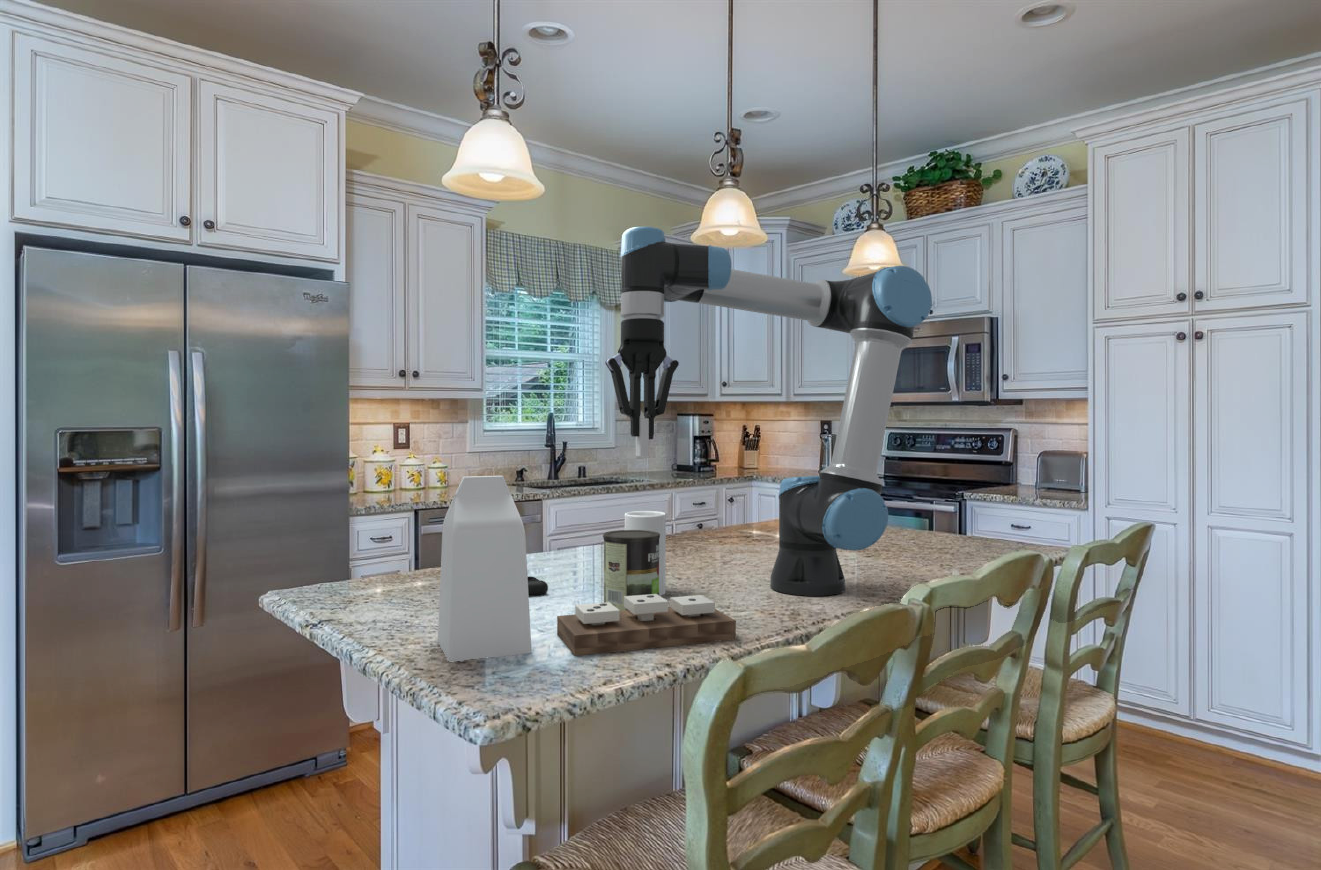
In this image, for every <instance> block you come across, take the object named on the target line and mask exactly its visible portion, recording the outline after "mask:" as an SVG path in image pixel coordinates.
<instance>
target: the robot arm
mask: <svg viewBox="0 0 1321 870" xmlns="http://www.w3.org/2000/svg"><path fill="white" fill-rule="evenodd" d="M619 259H620V281H621V282H620V287H621V288H620V317H621V318H623V320H622V321H620V346H619V348H618V349H617V350H618V351H617V354H615V355H614V356H613V357H611V358H609V359H608V358H607V359H606V360H605V365H606V367H607V369H608V371H609V372H610V375H611V379H612V384H613V387H614V391H615V395H616V400H617V404H618V409H619V412H620V414H622V415H624V416H627V417H629V419H630V436H631V437H633V438H634V437H635V456H637V457H649V453H650V450H649V449H650V448H649V447H650V444H649V443H650V442H649V440H650V439H649V438H650V437H653V436H654V434H655V425H654V424H655V418H656V417H658V416H659V415H663V414H664V413H665V411H666V407H667V403H668V397H669V392H670V389H671V385H672V380H673V376H674V373H675V371H676V370H677V368H678V366H680V365H679V363H680V362H679V361H678V360H677V359H672V358H671V357H670V356H668V355H667V350H666V348H665V322H664V321H663V320H662V319H663V318H664V317H665V303H674V302H677V301H680V302H686V303H687V302H688V303H696V304H701V305H702V304H703V305H709V306H715V307H720V308H727V309H734V310H738V311H745V312H752V313H758V314H766V315H771V316H777V317H783V318H791V319H795V320H800V321H807V323H808V325H810V326H811V327H814V328H820V329H826V330H829V331H830V330H831V331H835V332H836V331H837V332H842V333H846V334H849V335H850V336H851V339H852V340H853V341H854V342H855V346H854V351H853V356H852V360H851V365H850V371H849V375H848V379H847V384H846V385H847V386H846V390H845V395H844V399H843V405H842V410H841V414H840V418H839V424H838V427H837V428H838V429H837V433H836V438H835V442H834V448H833V453H832V457H831V463H830V464H829V465H828V466H826V467H824V469H821V471H820V475H809V476H808V475H807V476H794V477H793V476H792V477H787V478H784V479H782V480H781V481H780V483H779V492H778V513H779V514H778V515H779V516H778V518H779V520H778V523H779V525H778V529H779V530H778V533H779V534H778V539H779V540H778V544H779V545H778V553H777V556H776V559H775V561H774V564H773V568H772V571H771V574H770V585H769V586H770V588H771V589H772V590H774V591H776V592H780V593H782V594H783V593H784V594H787V595H788V594H790V595H796V596H810V597H812V596H813V597H819V596H821V597H824V596H832V595H838V594H842V593H843V592H845V591H846V578H845V575H844V573H843V568H842V565H841V562H840V558H839V556H838V551H837V549H838V550H843V551H854V552H855V551H861V550H862V551H863V550H866V549H867V548H868V549H869V548H870V547H871V546H872V545H874V544H875V543H877V542H878V541H879V540H880V539H881V537H882V536H883V535H884V533H885V530H886V529H887V526H888V521H889V511H888V506H887V505H886V503H885V500H884V498H883V497H882V495H881V494H882V489H883V485H884V484H883V482H882V480H881V479H880V478H879V476H878V473H877V472H878V467H879V463H880V458H881V453H882V448H883V443H884V440H885V439H884V438H885V433H886V429H887V428H886V427H887V423H888V419H889V413H890V408H891V404H892V399H893V394H894V390H895V389H894V388H895V384H896V380H897V373H898V369H899V364H900V361H901V356H902V355H901V354H902V351H903V350H905V349H906V348H908V347H909V346H910V345H911V344H912V343H913V338H914V333H915V329H916V328H915V327H917V326H918V325H920V324H922V323H923V321H925V320H926V319H927V318H928V316H929V315H930V312H931V309H932V305H933V298H932V291H931V288H930V286H929V284H928V283H927V282H926V280H925V277H924V276H923V275H922V274H921V273H920V272H919V271H918V270H917V269H915V268H912V267H909V266H908V265H907V266H906V265H895V266H886V267H885V266H884V267H883V268H880V269H879V270H876V271H874V272H871V273H867V274H863V275H862V276H858V277H854V278H851V279H845V280H835V281H834V280H833V281H831V280H825V279H818V280H817V281H816V282H815V283H813V282H808V281H802V280H795V279H792V278H791V279H790V278H785V277H779V276H774V275H773V276H772V275H767V274H761V273H755V272H751V271H750V272H749V271H745V270H740V269H739V270H738V269H733V268H732V256H731V255H730V252H729V251H728V249H726V248H724V247H719V246H713V245H711V244H709V245H699V244H685V243H684V244H683V243H682V244H681V243H671V242H669V241H666V238H665V232H664V231H663V229H660V228H657V227H653V226H635V227H630V228H628V229H626V230H624V232H623V233H622V235H621V244H620V256H619ZM622 363H623V364H624V366H625V368H626V369H627V370H628V378H629V396H628V392H627V388H626V385H625V384H626V383H625V380H624V375H623V370H622V368H621V367H622V365H623V364H622ZM661 365H662V368H663V371H662V373H661V376H660V381H659V386H658V389H657V394H656V393H655V392H656V376H657V370H658V368H659V367H660V366H661ZM642 379H643V416H644V417H643V418H641V411H642V409H641V408H642V405H641V400H642V399H641V397H642V396H641V395H642V393H641V392H642V389H641V388H642V384H641V383H642V382H641V380H642Z"/></svg>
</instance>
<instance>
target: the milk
mask: <svg viewBox="0 0 1321 870" xmlns="http://www.w3.org/2000/svg"><path fill="white" fill-rule="evenodd" d="M525 531H526V530H525V526H524V523H523V519H522V517H521V514H520V513H519V510H518V508H517V505H516V503H515V500H514V499H513V496H512V494H511V491H510V488H509V486H508V483H507V481H506V480H505V476H504V475H482V476H481V475H478V476H462V478H461V480H460V482H459V484H458V487H457V488H456V491H455V493H454V495H453V498H452V500H451V502H450V504H449V506H448V509H447V511H446V513H445V517H444V519H443V522H442V534H441V553H440V554H441V557H440V582H439V583H440V584H439V604H438V605H439V606H438V629H437V643H438V645H439V646H440V648H441V651H442V650H443V651H442V652H444V653H443V654H445V655H444V656H446V657H447V659H448V660H447V659H446V660H447V662H448V661H449V662H452V661H460V662H463V661H462V660H469V659H477V660H479V659H478V658H485V659H490V658H489V657H494V658H501V657H509V656H510V657H511V656H519V655H527V654H532V652H533V651H532V649H533V648H532V634H531V633H532V632H531V617H530V615H531V614H530V600H529V599H530V596H529V594H528V577H529V575H528V559H527V544H526V543H527V542H526V532H525ZM446 657H445V658H446ZM487 657H488V658H487ZM469 661H470V660H469ZM449 662H448V663H449ZM452 663H453V662H452Z"/></svg>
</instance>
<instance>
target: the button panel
mask: <svg viewBox="0 0 1321 870" xmlns="http://www.w3.org/2000/svg"><path fill="white" fill-rule="evenodd" d="M556 617H557V618H556V632H557V633H556V635H557V637H558V638H559V639H560V640H561V641H562V642H563V643H564V645H565V647H567V649H568V650H569V651H570V652H571V654H572V655H573V656H574V657H577V656H587V655H595V654H596V655H597V654H606V653H607V654H608V653H614V652H625V651H626V652H628V651H636V650H645V649H657V648H665V647H666V648H667V647H675V646H685V645H695V644H705V643H714V642H715V643H716V642H724V641H732V640H733V641H734V640H736V639H737V637H736V636H737V620H736V619H734V618H732V617H730V616H729V615H728V614H725V613H724V612H722V611H719V610H718V609H716V608H715V612H714V613H702V614H700V616H694V617H686V616H685V615H681V614H680V613H678V612H677V611H675V610H674V609H672V608H671V607H670V606H668V612H657V613H654V620H649V621H639V620H638V614H633V613H632V612H630V611H629V610H623V611H619V621H611V622H605V624H604V625H593V626H590V625H589V623H588V624H584V623H583V622H582V621H581V620H580V619H579V618H578V617H577V616H576V615H575V614H566V615H565V614H564V615H556Z"/></svg>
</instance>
